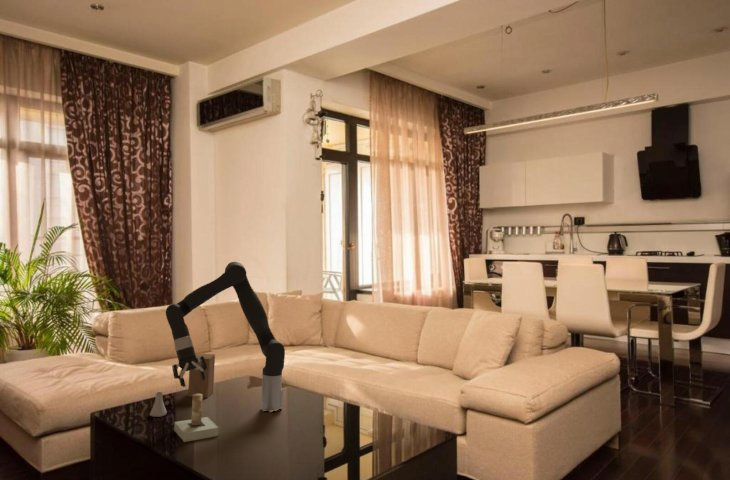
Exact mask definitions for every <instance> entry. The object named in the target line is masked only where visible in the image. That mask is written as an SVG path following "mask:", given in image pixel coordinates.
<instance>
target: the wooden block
mask: <svg viewBox="0 0 730 480" xmlns="http://www.w3.org/2000/svg"><path fill="white" fill-rule="evenodd" d="M195 355H196V358H200V357H201V356H203V357H204V359H205V363H206V366H207V369H205V370H204V375H205V379H204V381H201V378H200V374H199V373H200V372H199V371H198V370H196V369H192V370H189V371H188V372H189V373H188V394H187V396H188V397H189V398H193V394H202V395H203V397H202V399H208V398H209V397H210V396H211V395H212V394H213V393H214V387H215V386H214V385H215V382H214V381H215V361H216V354H215V353H201V352H200V353H198V352H197V353H196V352H195ZM197 364H198V365H199V366H200V367H201V368H202V365H201V362H199V361H198V362H197Z"/></svg>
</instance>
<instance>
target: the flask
mask: <svg viewBox="0 0 730 480" xmlns="http://www.w3.org/2000/svg"><path fill="white" fill-rule="evenodd" d="M163 394H164V392H163V391H157V392H155V399H154V402H153V406H152V408H151V411H150V412H149V416H150V417H153V418H155V417H156V418H157V417H158V418H159V417H160V418H161V417H164V416H166V415H167V413H168V411H167V409H166V407H165V403H164V401H163V400H164V399H163Z"/></svg>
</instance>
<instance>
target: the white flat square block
mask: <svg viewBox="0 0 730 480" xmlns="http://www.w3.org/2000/svg"><path fill="white" fill-rule="evenodd" d="M191 420H192V418H191V419H185V420H180V421H174V427H173V428H174V429H173V430H174V432H175V433H176V434H177V436H178V437H179V438H180V440H182V441H183V443H186V442H191V441H196V440H197V441H198V440H203V439H208V438H213V437H219V429H220V427H219V426H218V425H216V423H214V422H213V421H212V420H211V419H210V418H209V417H208V416H205V417H202V419H201V423H202V424H201V426H200V427H196V428H192V426H191Z"/></svg>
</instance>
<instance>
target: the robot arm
mask: <svg viewBox="0 0 730 480" xmlns="http://www.w3.org/2000/svg"><path fill="white" fill-rule="evenodd" d="M224 269H225V270H224V272H223V273H222V274H221V275H219V276H218V277H217V278H216V279H213V281H210V282H208V283H206V284H204V285H202V286H200V287H198V288H196V289H194V290H193V291H191V292H190V293H188V294H187V295H185V297H184V298H183V299H181V300H180V301H179V302H177V303H172V304H170V305H168V306H167V307H166V310H165V317H166V320H167V323H168V325H169V327H170V330H171V334H172V338H173V343H174V350H175V353H176V356H177V357H176V358H177V361H178V363H177V364H176V363H175V364H173V365H171V367H172V373H173V377H174V379H177V380H179V383H180V387H183V388H185V387H186V386H187V385H186V382H185V378H184V376H185V374H186V372H189V370H192V369H196V370H198V371H199V372H200V373H199V374H200V378H201V381H204V379H205V375H204V370H205V369H207V366H206V363H205V359H204V357H203V356H201V357H200V358H196V355H195V354H196V352H195V347H194V344H193V340H192V337H191V335H190V331H189V327H188V325H187V324H186V322H185V319H184V317H186V316H187V315H188V314H190V313H191V312H192V311H193V310H195V309H196V308H198V307H200V306H201V305H203V304H205V303H206V302H208V301H209V300H210V299H212V298H213V297H215V296H217V295H218V294H220V293H221V292H224V291H225V290H227V289H229V288H232V287H233V289H234V291H235V294H236V296H237V298H238V301H239V305H240V307H241V310H242V312H243V314H244V316H245V318H246V321H247V322H248V324H249V326H250V328H251V329H252V332H253V333H254V334H255V336H256V339H257V342H258V344H259V346H260V350H261V352H262V355H263V356H264V357H265V365H264V367H262V376H261V377H262V378H261V381H262V382H261V399H260V400H261V401H260V410H261V409H262V410H266V411H270V410H275V409H278V408H280V407H282V408H283V397H284V396H283V395H284V390H283V389H282V385H283V383H282V378H283V370H284V367H285V358H286V357H285V354H286V352H285V351H286V350H285V349H286V348H285V347H284V345H283V344H282V342H280V341H278V340H277V339H276V337H275V336H274V333H273V332H272V331H271V328H270V325H269V324H270V323H269V321H268V320H269V319H268V315H267V313H266V310H265V308H264V306H263V304H262V301H261V300H260V298H259V297H258V295H257V294H256V292H255V290H254V289H253V287H252V286H251V283H250V281H249V279H248V276H247V270H246V268H245V267H244V265H243V264H242V263H240V262H238V261H231V262H229V263H227V265H226V267H225V268H224ZM198 361H199V362H201V365H202V368H201V367H200V366H199V365H198V364H197V362H198ZM179 368H180V372H178V369H179ZM262 410H261V411H262Z"/></svg>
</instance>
